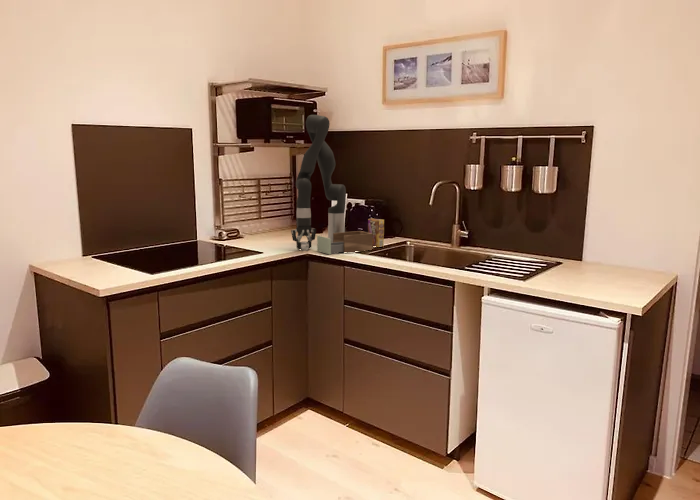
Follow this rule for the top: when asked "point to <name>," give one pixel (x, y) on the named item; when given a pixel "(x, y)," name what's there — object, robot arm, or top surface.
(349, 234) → the sleeve
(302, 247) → the steel tin
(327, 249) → the grey boxy piece
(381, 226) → the candy box
